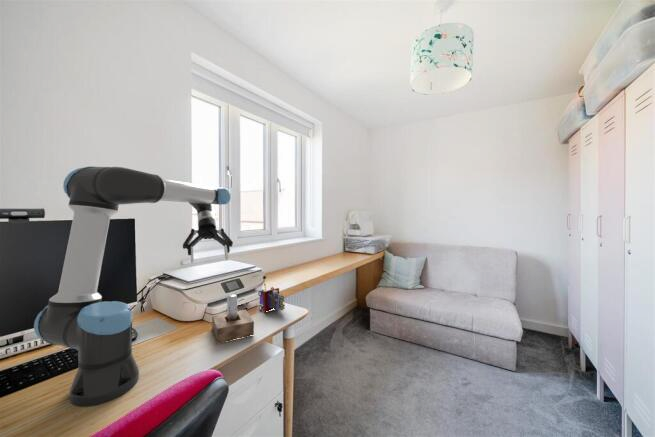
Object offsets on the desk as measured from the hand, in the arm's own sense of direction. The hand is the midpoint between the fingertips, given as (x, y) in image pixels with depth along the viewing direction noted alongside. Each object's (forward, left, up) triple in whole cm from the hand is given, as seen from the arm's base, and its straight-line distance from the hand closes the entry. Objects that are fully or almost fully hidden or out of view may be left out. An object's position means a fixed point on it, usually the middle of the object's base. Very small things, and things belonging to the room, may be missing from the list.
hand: (210, 259), depth 111 cm
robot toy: (+30, +6, -30) cm, 43 cm away
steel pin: (+8, -9, -28) cm, 31 cm away
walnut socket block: (+8, -9, -30) cm, 32 cm away
